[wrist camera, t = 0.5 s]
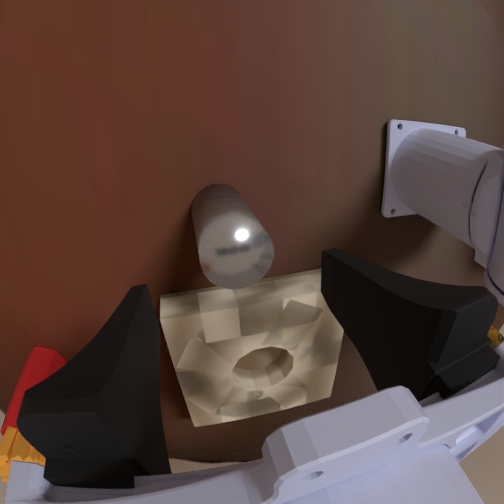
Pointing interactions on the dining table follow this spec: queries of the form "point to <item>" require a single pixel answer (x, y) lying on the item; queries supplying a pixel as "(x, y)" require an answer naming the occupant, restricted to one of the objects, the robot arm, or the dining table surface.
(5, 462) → the french fries
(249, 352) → the bore block
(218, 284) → the pin
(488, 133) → the dining table surface
